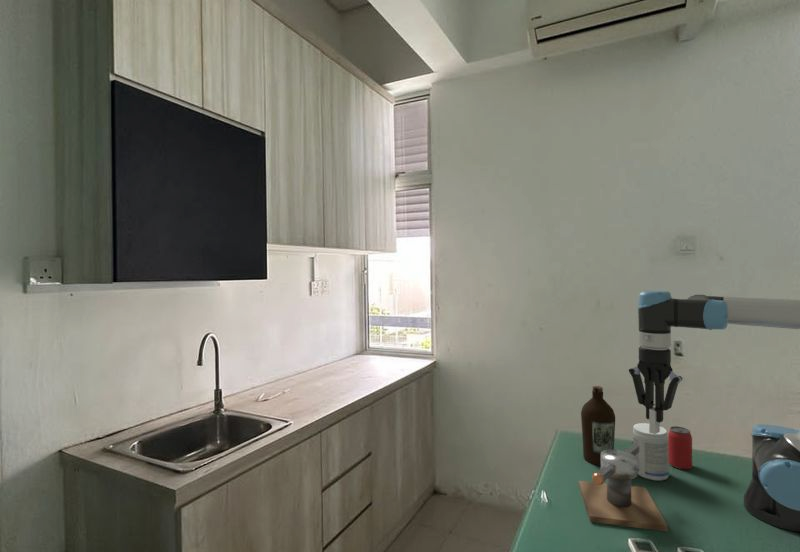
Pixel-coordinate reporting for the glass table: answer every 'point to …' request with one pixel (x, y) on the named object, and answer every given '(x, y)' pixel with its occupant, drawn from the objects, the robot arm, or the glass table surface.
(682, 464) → the beer can
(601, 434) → the olive oil
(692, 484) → the glass table surface
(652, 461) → the supplement tub
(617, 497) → the square wooden board
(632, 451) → the disc with handle bar
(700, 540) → the glass table surface
